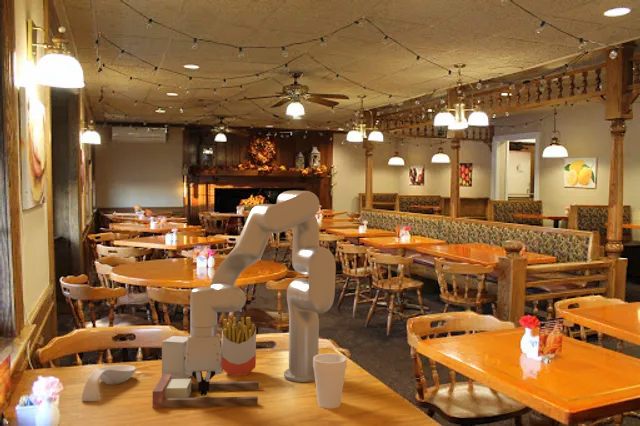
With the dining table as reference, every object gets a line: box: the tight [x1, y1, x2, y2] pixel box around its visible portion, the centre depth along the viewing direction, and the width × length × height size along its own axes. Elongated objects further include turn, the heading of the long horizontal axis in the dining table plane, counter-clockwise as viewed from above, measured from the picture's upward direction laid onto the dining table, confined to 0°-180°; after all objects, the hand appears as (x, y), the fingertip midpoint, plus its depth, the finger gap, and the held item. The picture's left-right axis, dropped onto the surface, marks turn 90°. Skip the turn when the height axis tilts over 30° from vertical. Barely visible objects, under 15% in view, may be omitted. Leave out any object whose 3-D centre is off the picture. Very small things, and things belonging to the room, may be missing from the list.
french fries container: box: [221, 316, 257, 376], centre depth 179 cm, size 5×11×18 cm, turn 94°
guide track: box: [152, 374, 260, 409], centre depth 158 cm, size 28×14×4 cm, turn 95°
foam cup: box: [313, 352, 348, 409], centre depth 153 cm, size 10×9×13 cm
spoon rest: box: [81, 364, 137, 402], centre depth 165 cm, size 24×12×7 cm, turn 178°
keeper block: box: [165, 378, 192, 398], centre depth 159 cm, size 6×8×4 cm
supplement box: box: [161, 335, 193, 379], centre depth 174 cm, size 7×7×13 cm
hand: (203, 393), depth 158 cm, fingers closed
